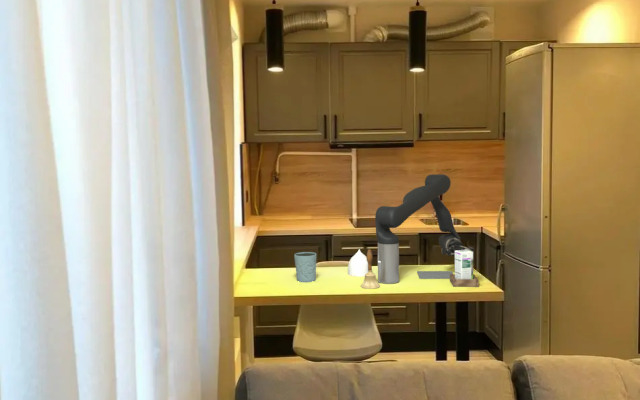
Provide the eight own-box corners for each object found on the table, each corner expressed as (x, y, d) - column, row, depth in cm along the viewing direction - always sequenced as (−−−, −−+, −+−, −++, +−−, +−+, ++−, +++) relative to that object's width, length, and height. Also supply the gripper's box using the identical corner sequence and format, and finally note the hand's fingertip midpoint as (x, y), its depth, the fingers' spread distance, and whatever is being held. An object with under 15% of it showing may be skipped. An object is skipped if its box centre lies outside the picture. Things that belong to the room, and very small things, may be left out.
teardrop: (372, 276, 255) (371, 250, 254) (348, 276, 255) (347, 251, 254) (370, 271, 266) (370, 246, 265) (347, 271, 266) (347, 246, 265)
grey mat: (419, 278, 248) (419, 277, 248) (417, 272, 260) (417, 271, 260) (455, 278, 247) (455, 277, 247) (451, 272, 259) (451, 271, 259)
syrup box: (461, 286, 234) (461, 252, 233) (454, 282, 240) (454, 249, 238) (473, 284, 236) (473, 251, 234) (466, 281, 241) (466, 248, 240)
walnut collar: (453, 286, 233) (453, 279, 233) (449, 280, 243) (449, 274, 243) (478, 286, 232) (478, 279, 232) (473, 280, 242) (473, 274, 242)
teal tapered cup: (314, 283, 244) (313, 256, 243) (292, 282, 246) (291, 255, 245) (319, 277, 254) (318, 252, 253) (297, 277, 256) (297, 251, 255)
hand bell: (364, 289, 231) (364, 252, 230) (357, 285, 239) (357, 248, 238) (383, 287, 233) (382, 250, 232) (375, 283, 241) (375, 247, 240)
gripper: (439, 239, 264) (443, 245, 248) (469, 238, 263) (476, 245, 247) (439, 254, 265) (443, 262, 249) (469, 254, 264) (476, 261, 248)
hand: (460, 253), depth 248 cm, fingers open, 8 cm apart
